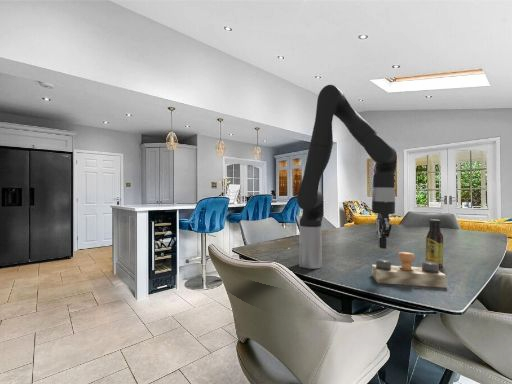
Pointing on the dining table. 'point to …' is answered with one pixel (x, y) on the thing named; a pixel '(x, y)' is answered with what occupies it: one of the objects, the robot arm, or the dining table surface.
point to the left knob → (383, 264)
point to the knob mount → (409, 276)
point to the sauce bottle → (434, 243)
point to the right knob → (430, 267)
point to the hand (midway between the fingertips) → (382, 248)
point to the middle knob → (406, 260)
